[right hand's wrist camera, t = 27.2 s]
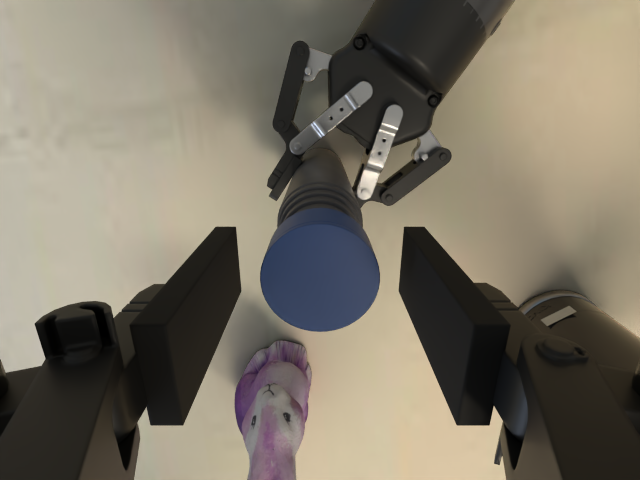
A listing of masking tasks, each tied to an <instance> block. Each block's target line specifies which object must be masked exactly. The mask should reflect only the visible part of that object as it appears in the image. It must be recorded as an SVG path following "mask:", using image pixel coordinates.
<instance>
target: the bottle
mask: <svg viewBox="0 0 640 480" xmlns="http://www.w3.org/2000/svg"><path fill="white" fill-rule="evenodd" d="M302 157H304V158H303V161H302V162H301V164H300V166H299V167H298V169H297V170H296V171H295V173H294V175H293V177H292V180H291V182H290V185H289V187H288V190H287V192H286V195H285V197H284V200H283V202H282V205H281V207H280V210H279V214H278V224H277V228H278V227H279V226H280V225H281V224H282V223H283V222H284V221H285V220H286V219H287V218H289V217H290V216H292V215H294V214H296V213H298V212H300V211H303V210H306V209H312V208H328V209H333V210H337V211H340V212H342V213H344V214H346V215H348V216H350V217H351V218H353V219H354V220H355V221H356V222H357V223H359V225H360V226H361V227H362V228H363V220H362V213H361V210H360V207H359V204H358V202H357V199H356V197H355V195H354V192H353V190H352V187H351V185H350V182H349V180H348V177H347V175H346V172H345V170H344V167H343V165H342V162H341V160H340V158H339V157H338V156H337V155H336V154H335V153H334V152H332V151H331V150H328V149H325V148H315V149H312V150H309V151H308V152H306V153H305V154H304V155H303V156H302Z"/></svg>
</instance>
